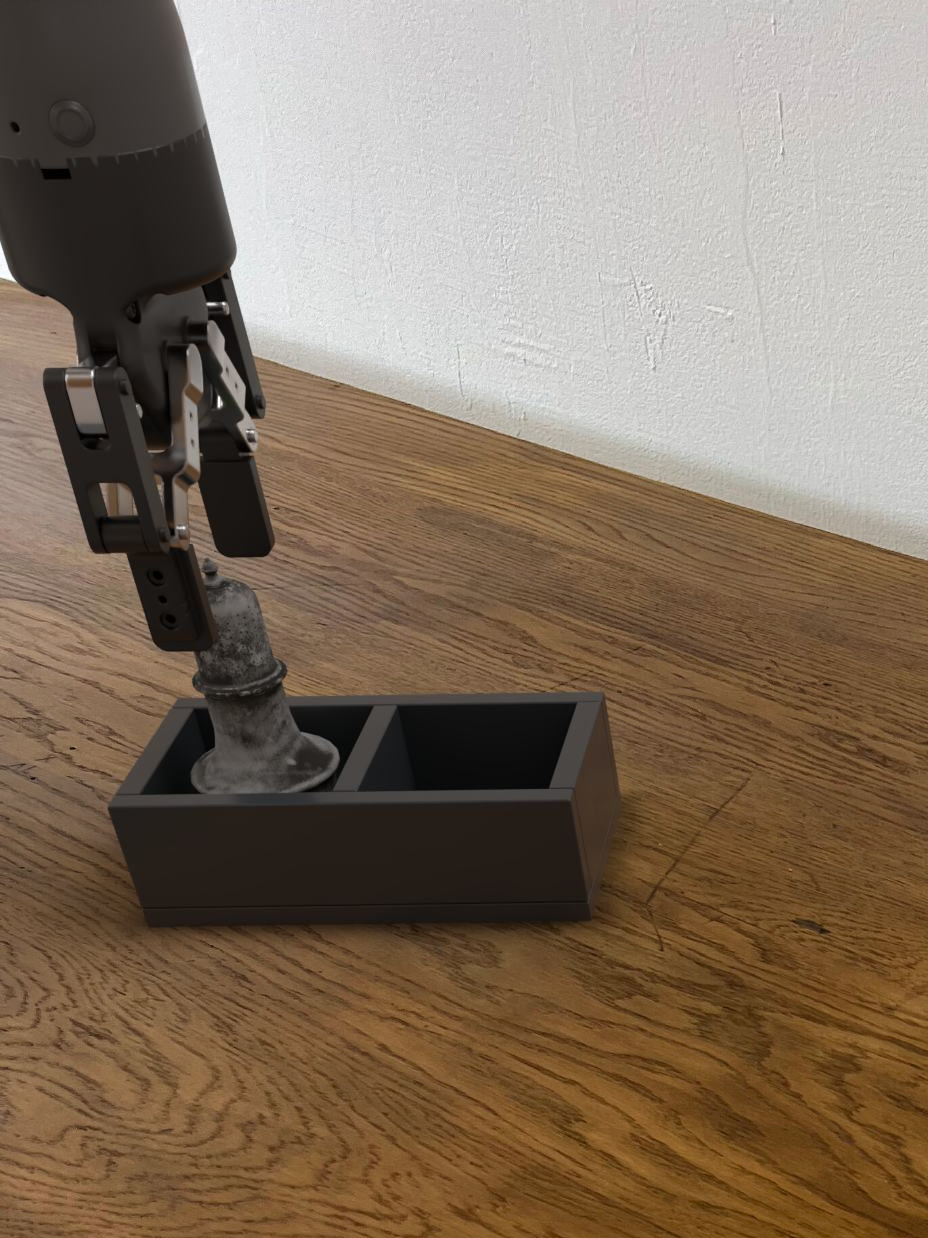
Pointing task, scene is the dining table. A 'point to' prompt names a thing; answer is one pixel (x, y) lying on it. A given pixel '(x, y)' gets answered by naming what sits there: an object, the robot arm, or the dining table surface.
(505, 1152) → the dining table surface
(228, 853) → the divided open box
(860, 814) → the dining table surface
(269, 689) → the salt shaker
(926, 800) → the dining table surface
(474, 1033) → the dining table surface
